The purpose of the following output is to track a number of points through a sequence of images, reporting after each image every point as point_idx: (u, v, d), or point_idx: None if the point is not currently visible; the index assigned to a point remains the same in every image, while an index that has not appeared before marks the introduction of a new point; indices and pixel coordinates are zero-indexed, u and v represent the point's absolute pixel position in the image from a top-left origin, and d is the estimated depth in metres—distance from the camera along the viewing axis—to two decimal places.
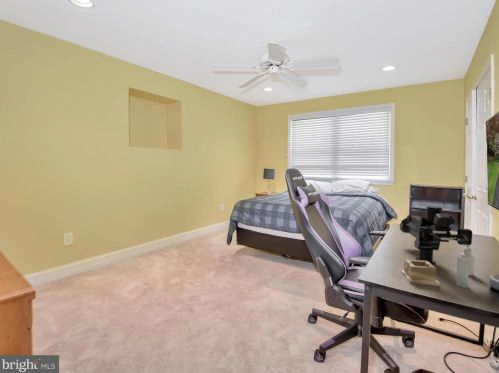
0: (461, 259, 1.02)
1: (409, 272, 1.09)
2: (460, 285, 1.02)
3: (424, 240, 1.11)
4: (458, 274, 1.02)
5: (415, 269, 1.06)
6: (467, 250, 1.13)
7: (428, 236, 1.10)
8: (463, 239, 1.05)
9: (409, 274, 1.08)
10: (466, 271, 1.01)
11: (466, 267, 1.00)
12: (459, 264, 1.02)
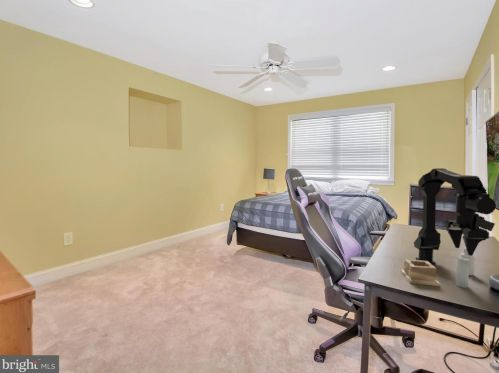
0: (461, 259, 1.02)
1: (409, 272, 1.09)
2: (460, 285, 1.02)
3: None
4: (458, 274, 1.02)
5: (415, 269, 1.06)
6: None
7: None
8: (457, 239, 1.06)
9: (409, 274, 1.08)
10: (466, 271, 1.01)
11: (466, 267, 1.00)
12: (459, 264, 1.02)
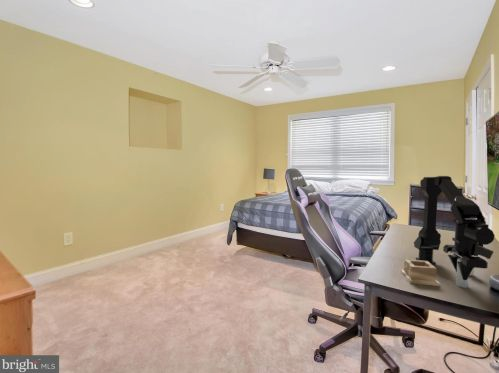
0: (461, 259, 1.02)
1: (409, 272, 1.09)
2: (460, 285, 1.02)
3: None
4: (458, 274, 1.02)
5: (415, 269, 1.06)
6: None
7: None
8: None
9: (409, 274, 1.08)
10: None
11: None
12: None
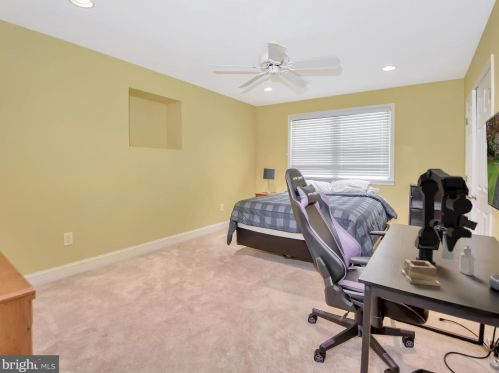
0: None
1: (409, 272, 1.09)
2: (446, 257, 1.03)
3: None
4: (444, 246, 1.04)
5: (415, 269, 1.06)
6: (467, 250, 1.13)
7: None
8: None
9: (409, 274, 1.08)
10: None
11: None
12: None
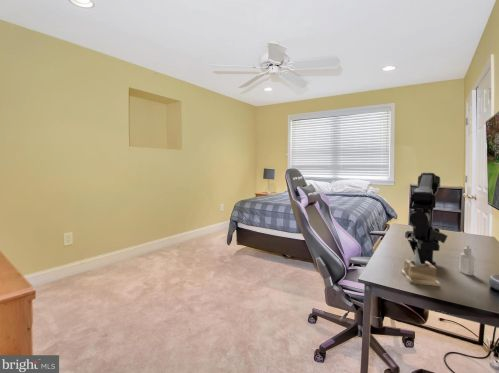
0: None
1: (409, 272, 1.09)
2: None
3: None
4: (415, 264, 1.09)
5: (415, 269, 1.06)
6: (467, 250, 1.13)
7: None
8: None
9: (409, 274, 1.08)
10: None
11: None
12: (416, 255, 1.09)
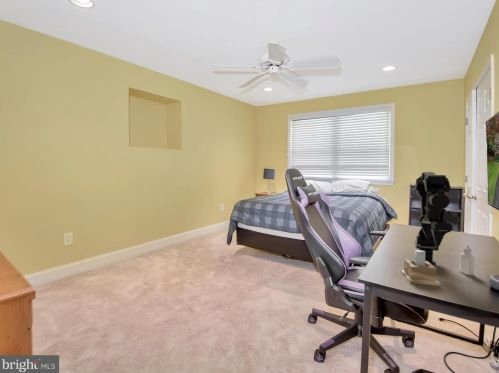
0: (418, 251, 1.09)
1: (409, 272, 1.09)
2: None
3: None
4: (415, 265, 1.09)
5: (415, 269, 1.06)
6: (467, 250, 1.13)
7: None
8: (428, 231, 1.18)
9: (409, 274, 1.08)
10: (422, 261, 1.07)
11: (422, 258, 1.07)
12: (416, 256, 1.09)
